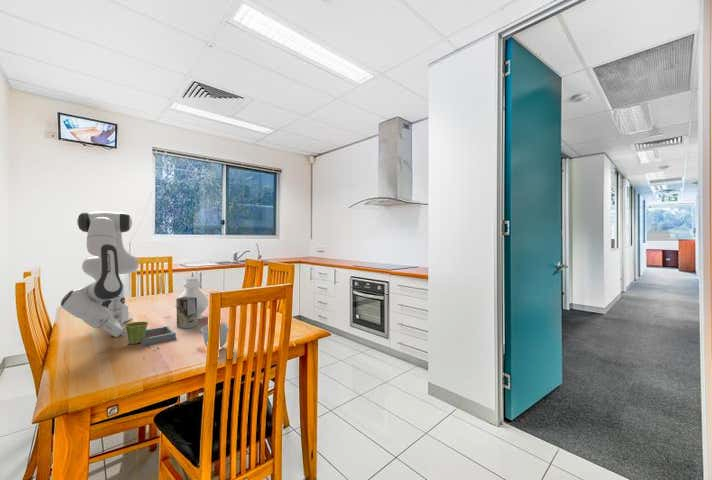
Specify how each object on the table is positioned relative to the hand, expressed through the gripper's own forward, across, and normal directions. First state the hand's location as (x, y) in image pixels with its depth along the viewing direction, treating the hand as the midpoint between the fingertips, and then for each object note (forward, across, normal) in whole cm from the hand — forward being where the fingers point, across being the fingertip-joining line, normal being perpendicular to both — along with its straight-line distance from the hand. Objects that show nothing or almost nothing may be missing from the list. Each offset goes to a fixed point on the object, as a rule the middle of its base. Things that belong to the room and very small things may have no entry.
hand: (126, 334), depth 147 cm
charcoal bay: (+11, 0, -5) cm, 12 cm away
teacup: (+24, -33, -17) cm, 44 cm away
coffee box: (+23, +11, -17) cm, 31 cm away
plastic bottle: (+2, +18, +5) cm, 19 cm away
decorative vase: (+28, +26, -22) cm, 45 cm away
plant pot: (+6, 0, +1) cm, 6 cm away
